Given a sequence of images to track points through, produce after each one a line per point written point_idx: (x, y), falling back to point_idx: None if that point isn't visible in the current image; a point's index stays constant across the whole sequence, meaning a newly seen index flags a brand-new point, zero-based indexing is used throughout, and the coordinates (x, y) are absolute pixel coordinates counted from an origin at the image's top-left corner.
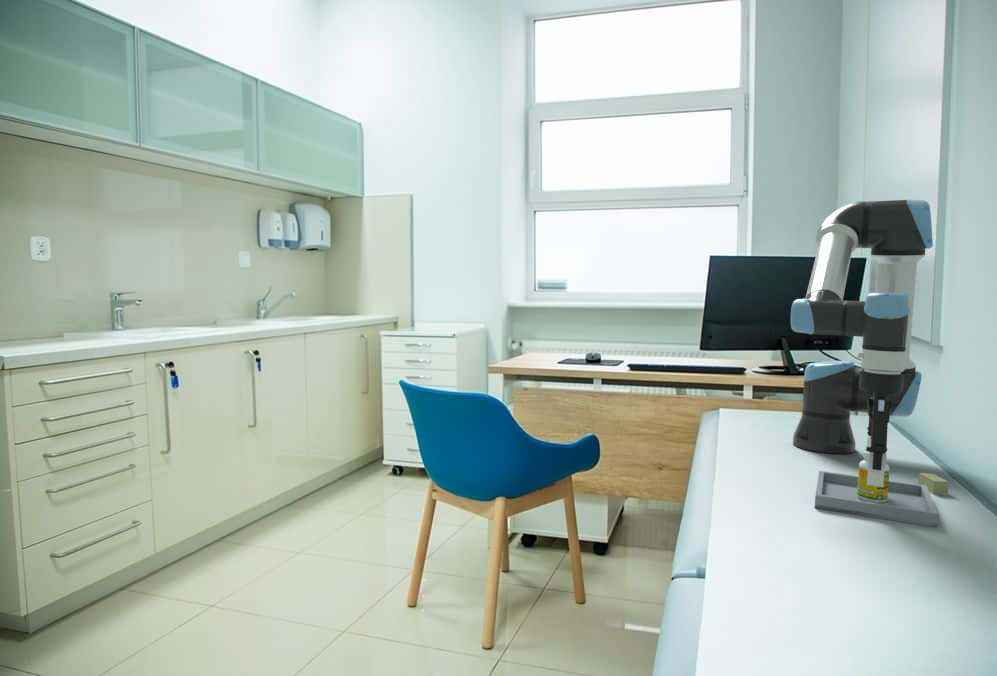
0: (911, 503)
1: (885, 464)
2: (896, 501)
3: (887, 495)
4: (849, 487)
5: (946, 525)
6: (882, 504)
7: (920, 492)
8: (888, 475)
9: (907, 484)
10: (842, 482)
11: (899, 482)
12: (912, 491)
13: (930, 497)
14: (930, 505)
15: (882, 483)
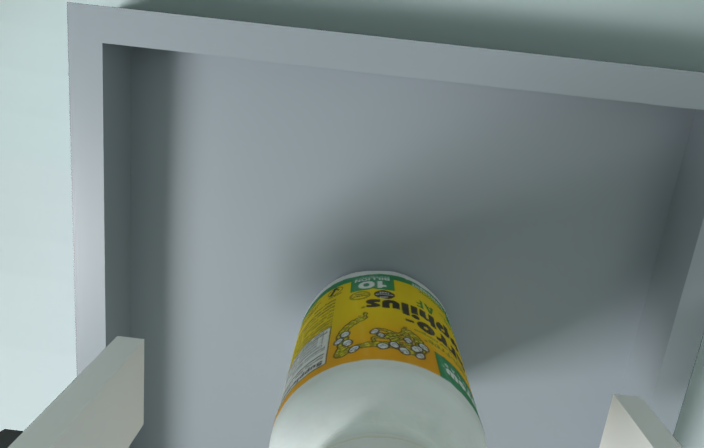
0: (359, 139)
1: (417, 420)
2: (356, 215)
3: (403, 284)
4: (189, 408)
5: (662, 15)
6: (675, 359)
7: (123, 45)
8: (423, 349)
9: (104, 126)
10: None
11: (89, 171)
12: (122, 91)
13: (387, 42)
14: (595, 86)
15: (653, 418)
